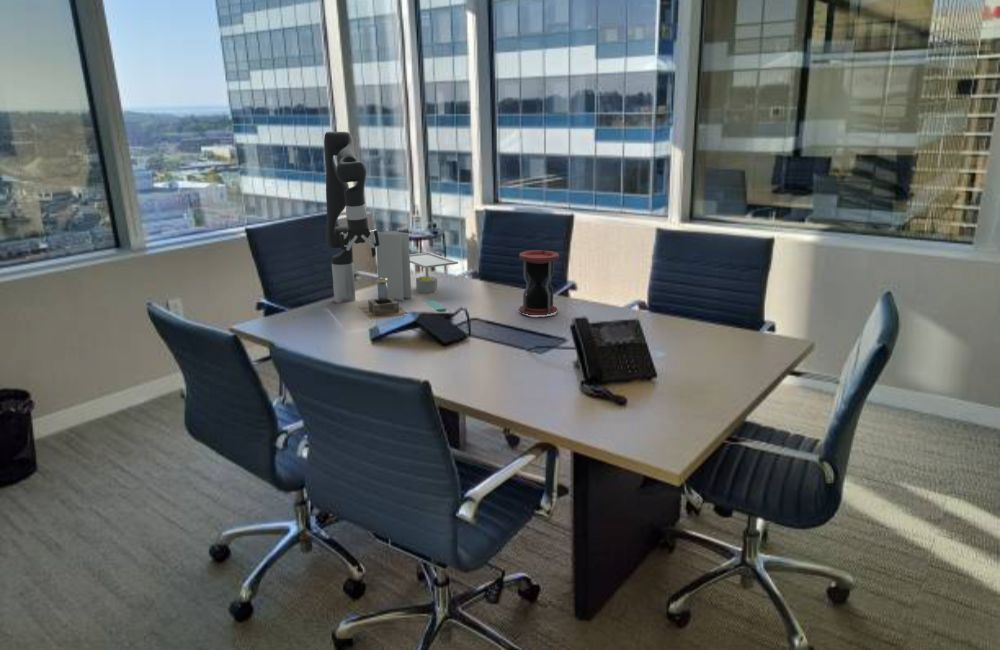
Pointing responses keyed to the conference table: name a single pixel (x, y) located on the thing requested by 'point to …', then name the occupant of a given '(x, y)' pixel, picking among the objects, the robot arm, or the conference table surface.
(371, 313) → the eye block
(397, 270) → the tall grey pillar
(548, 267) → the hourglass
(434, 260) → the solar panel model
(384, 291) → the steel peg
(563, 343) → the conference table surface
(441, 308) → the rubber mat
